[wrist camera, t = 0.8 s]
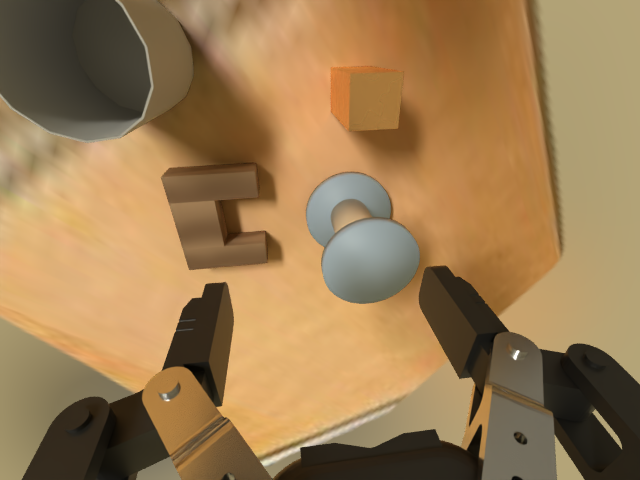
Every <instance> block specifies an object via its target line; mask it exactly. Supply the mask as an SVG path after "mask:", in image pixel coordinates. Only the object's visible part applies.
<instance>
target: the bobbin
mask: <svg viewBox="0 0 640 480" xmlns="http://www.w3.org/2000/svg"><path fill="white" fill-rule="evenodd" d="M390 214H391V204H390V200H389V197H388V195H387V193H386V191H385V190H384V188H383V187H382V186H381V185H380V184H379V182H377V181H376V180H375V179H374V178H372V177H370V176H368V175H366V174H363V173H359V172H344V173H339V174H336V175H334V176H331V177H329V178H328V179H326V180H324V181H323V182H322V183H321V184H320V185H318V186H317V188H316V189H315V190H314V191H313V193H312V194H311V196H310V198H309V200H308V204H307V208H306V219H307V225H308V228H309V231H310V233H311V235H312V236H313V238H314V239H315V240H316V241H317V242H318V243H319V244H321V245H322V246H324V247H325V249H324V251H323V254H322V260H321V266H322V272H323V277H324V280H325V283H326V285H327V287H328V288H329V290H330V291H331V292H332V293H333V294H335V295H336V296H337V297H339V298H341V299H343V300H345V301H348V302H352V303H359V304H366V303H374V302H378V301H382V300H385V299H387V298H389V297H391V296H393V295H395V294H397V293H398V292H399V291H401V290H402V289H403V288H404V287H405V286H406V285H407V284H408V283H409V282H410V281H411V280H412V278H413V277H414V275H415V273H416V271H417V269H418V265H419V260H420V252H419V247H418V245H417V242H416V241H415V239H414V238H413V236H412V235H411V234H410V232H409V231H408V230H407V229H406V228H405V227H404V226H403V225H402V224H400V223H398V222H397V221H394V220H392V219H390Z"/></svg>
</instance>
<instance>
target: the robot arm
mask: <svg viewBox="0 0 640 480" xmlns="http://www.w3.org/2000/svg"><path fill="white" fill-rule="evenodd" d="M419 304H420V308H421V310H422V312H423V314H424V316H425V317H426V319H427V321H428V323H429V325H430V326H431V328H432V330H433V332H434V334H435V335H436V337H437V339H438V341H439V343H440V344H441V346H442V348H443V350H444V352H445V353H446V355H447V357H448V359H449V361H450V362H451V364H452V366H453V367H454V370H455V371H456V373H457V375H458V377H459V379H461V378H469V377H472V379H473V381H474V382H475V383H474V386H473V389H472V394H471V401H470V406H469V412H468V417H467V424H466V429H465V434H464V437H463V441H462V444H461V447H459V446H457V445H454V444H452V443H449V442H445V441H441V440H439V437H438V435H437V433H436V430H435V429H433V430H425V431H419V432H411V433H403V434H401V435H399V436H397V437H395V438H393V439H391V440H389V441H387V442H384V443H382V444H380V445H378V446H376V447H373V448H365V447H359V446H352V445H345V444H338V443H331V444H323V445H316V446H309V447H302V448H300V450H301V458H300V459H298V460H296V461H294V462H292V463H291V464H289V465H288V466H287V467H285V468H284V469H283V470H282V471H280V472H279V473H278V474H277V475H276V476H275V477H274V478H273V479H272V478H271V476H270V475H269V474H268V472H267V471H266V469H265V468H264V467H263V465H262V464H261V462H260V461H259V460H258V458H257V457H256V456H255V454H254V453H253V451H252V450H251V449H250V447H249V446H248V444H247V443H246V442H245V440H244V439H243V437H242V436H241V435H240V433H239V432H238V430H237V429H236V428H235V426H234V425H233V424H232V422H231V421H230V420H229V419H228V418H227V417H225V418H224V417H223V416H222V415H221V414H220V412H219V411H218V409H217V408H216V407H219V406H222V403H223V396H224V389H225V382H226V375H227V368H228V361H229V354H230V347H231V340H232V333H233V325H234V316H233V309H232V304H231V299H230V294H229V289H228V285H227V283H226V282H223V283H210V284H206V285H205V288H204V292H203V295H202V298H192V299H191V300H190V302H189V303H188V304H187V305H186V306H185V307H184V308H183V310H182V313H181V316H180V319H179V323H178V325H177V328H176V332H175V334H174V337H173V340H172V343H171V346H170V348H169V351H168V354H167V357H166V360H165V363H164V366H163V369H162V371H161V372H159V373H158V374H156V375H155V376H154V377H153V378H152V379H151V380H150V381H149V382H148V383H147V385H146V386H145V388H144V389H143V390H141V391H140V392H138V393H135V394H133V395H131V396H128V397H125V398H123V399H120V400H118V401H115V402H113V403H110V404H108V402H107V401H106V400H105V399H103V398H101V397H88V398H84V399H82V400H79V401H77V402H75V403H73V404H72V405H70V406H69V407H67V408H66V409H65V410H63V411H62V412H61V413H60V414H59V415H58V416H57V417H56V418H55V420H54V421H53V422H52V424H51V425H50V427H49V429H48V431H47V433H46V435H45V437H44V439H43V441H42V442H41V444H40V446H39V448H38V450H37V452H36V454H35V455H34V458H33V459H32V461H31V463H30V465H29V467H28V469H27V471H26V473H25V475H24V476H23V478H22V480H136V477H137V473H138V471H140V470H142V469H145V468H146V467H149V466H151V465H153V464H155V463H157V462H159V461H161V460H163V459H166V458H167V457H171V459H172V461H173V464H174V466H175V468H176V469H177V471H178V473H179V475H180V477H181V479H182V480H557V474H556V455H555V437H554V434H555V435H556V437H557V438H558V440H559V442H560V443H561V445H562V446H563V448H564V449H565V451H566V452H567V453H568V455H569V457H570V458H571V460H572V461H573V462H574V464H575V466H576V467H577V469H578V470H579V472H580V473H581V475H582V476H583V478H584V479H585V480H640V384H639V383H638V382H637V381H635V379H634V378H633V377H631V375H630V374H628V372H627V371H625V370H624V368H623V367H621V366H620V365H619V364H618V363H617V362H616V361H615V360H614V359H613V358H612V357H611V356H609V355H608V354H607V353H605V352H604V351H602V350H600V349H598V348H596V347H593V346H590V345H586V344H573V345H571V346H570V347H569V348H568V349H567V351H566V353H560V352H554V351H548V350H542V349H538V347H537V346H536V345H535V344H534V343H533V342H532V341H530V340H529V339H527V338H526V337H524V336H522V335H519V334H516V333H512V332H509V331H508V329H507V328H506V327H505V326H504V325H503V323H502V322H501V321H500V320H499V318H498V317H497V316H496V315H495V314H494V312H493V311H492V310H491V309H490V307H489V306H488V305H487V304H485V301H484V300H483V299H482V298H481V296H479V295H478V293H477V292H476V290H475V289H474V288H473V287H472V285H471V284H469V283H468V282H466V281H465V280H463V279H462V278H460V277H455V276H454V275H453V273H452V272H451V271H450V270H449V268H448V267H447V266H433V267H426V269H425V271H424V275H423V279H422V284H421V288H420V292H419ZM595 409H596V410H597V411H598V412H599V414H600V415H601V416H602V417H603V419H604V420H605V421H606V422H607V423H608V424H609V426H610V427H611V428H612V429H613V431H614V432H615V433H616V434H617V436H618V437H619V439H620V441H621V444H622V449H621V448H620V447H619V445H618V444H617V443H616V442H615V440H614V439H613V438H612V437H611V435H610V434H609V433H608V432H607V431H606V429H605V428H604V427H603V425H602V424H601V423H600V422H599V421H598V419H597V418H596V417H595V415H594V414H593V413H592V412H593V411H594V410H595Z"/></svg>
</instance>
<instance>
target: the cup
mask: <svg viewBox="0 0 640 480" xmlns="http://www.w3.org/2000/svg"><path fill="white" fill-rule="evenodd" d="M193 76H194V67H193V57H192V47H191V46H190V44H189V42H188V40H187V38H186V36H185V34H184V32H183V30H182V28H181V26H180V24H179V22H178V20H177V19H176V18H175V17H174V16H173V15H172V14H171V13H170V12H168V11H167V10H166V9H165V8H164V7H163V6H162V5H161V4H160V3H159V2H158V1H157V0H0V97H1V98H2V99H3V100H4V101H5V103H6V104H7V105H8V106H9V107H10V108H11V109H12V110H13V111H15V112H17V113H18V114H20V115H21V116H23V117H24V118H26V119H28V120H29V121H31V122H32V123H34V124H35V125H37V126H39V127H40V128H42V129H43V130H45V131H46V132H48V133H50V134H54V135H58V136H61V137H65V138H69V139H73V140H77V141H81V142H85V143H92V142H98V141H104V140H111V139H117V138H121V137H123V136H125V135H126V134H128V133H130V132H132V131H133V130H135V129H137V128H139V127H140V126H142V125H144V124H146V123H147V122H149V121H151V120H153V119H154V118H156V117H158V116H160V115H161V114H163V113H165V112H167V111H168V110H170V109H171V108H172V107H174V106H175V105H176V104H177V103H179V102H180V101H181V100H182V99H183V98H185V97H186V95H187V93H188V90H189V87H190V85H191V82H192V79H193Z"/></svg>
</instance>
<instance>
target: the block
mask: <svg viewBox="0 0 640 480" xmlns="http://www.w3.org/2000/svg"><path fill="white" fill-rule="evenodd" d="M403 76H404V72H403V71H397V70H391V69H385V68H379V67H373V66H362V67H332V68H331V112H332V113H333V114H334V116H335V117H336V118H337V119H338V120H339V121H340V122H341V123H342V124H343V125H344V127H345V128H346V129H347V130H348V131H363V130H382V129H398V124H399V115H400V105H401V95H402V86H403Z"/></svg>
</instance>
